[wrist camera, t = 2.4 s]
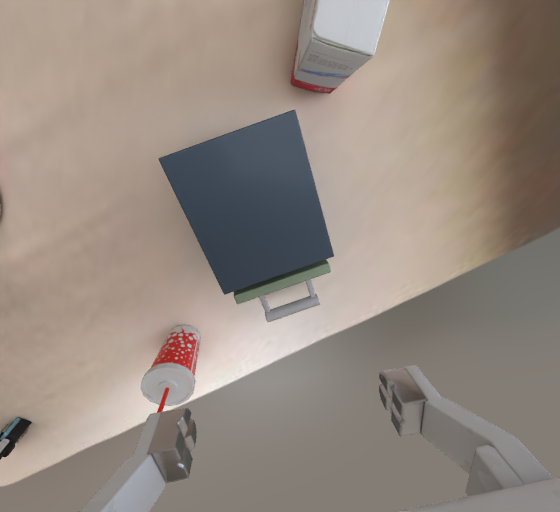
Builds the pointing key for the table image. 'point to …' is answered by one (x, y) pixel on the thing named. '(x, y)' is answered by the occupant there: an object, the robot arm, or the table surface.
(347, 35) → the ink box
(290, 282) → the drawer
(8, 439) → the push button
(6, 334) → the table surface
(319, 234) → the cabinet
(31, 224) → the table surface
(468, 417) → the robot arm
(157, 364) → the beverage cup
